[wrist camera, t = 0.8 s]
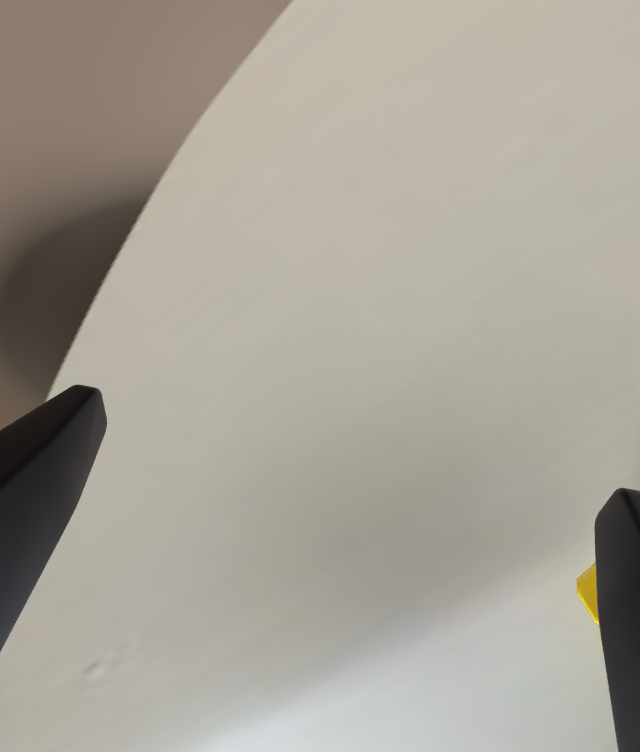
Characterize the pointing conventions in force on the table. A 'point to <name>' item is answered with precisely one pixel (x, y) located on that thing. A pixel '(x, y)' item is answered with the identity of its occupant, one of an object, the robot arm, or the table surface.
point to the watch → (589, 592)
